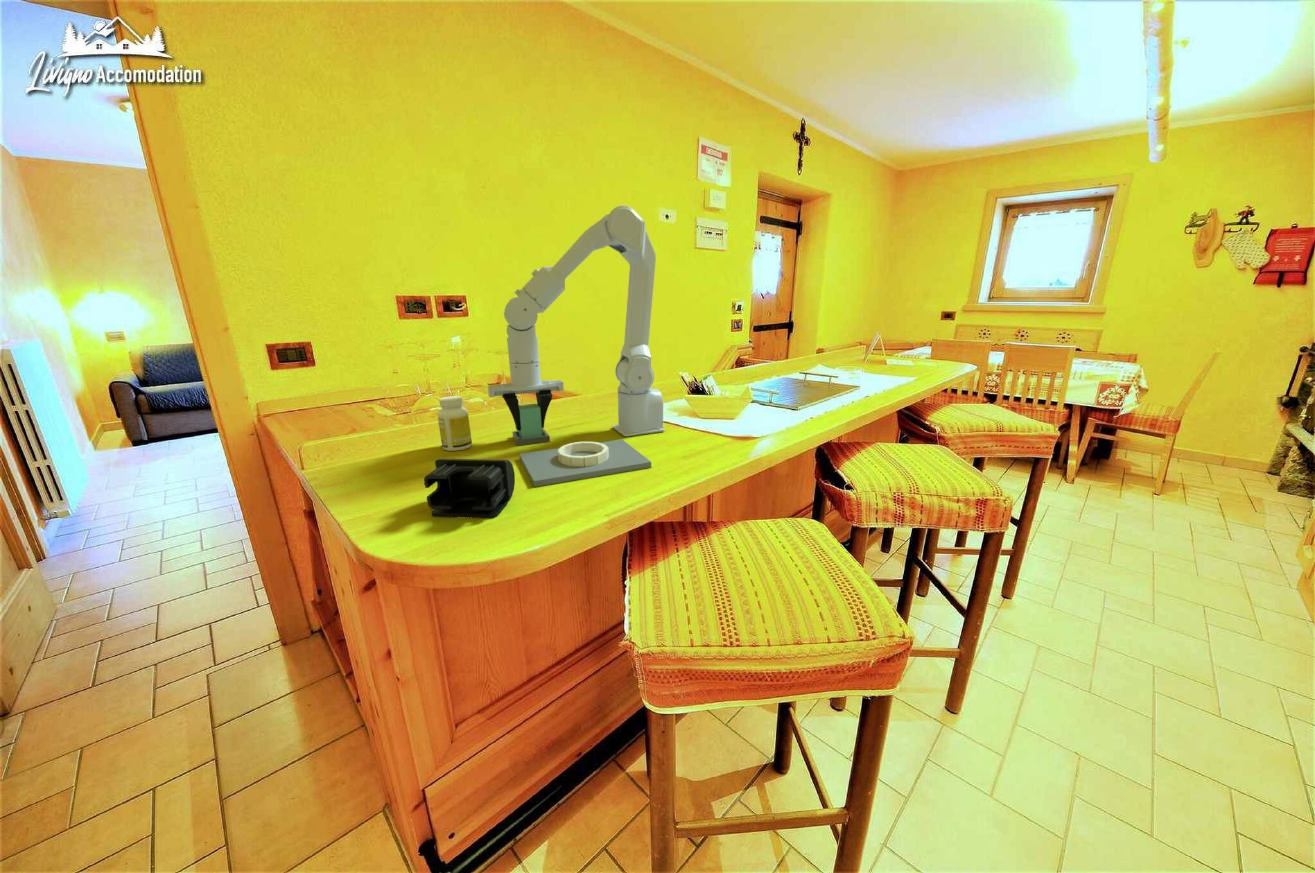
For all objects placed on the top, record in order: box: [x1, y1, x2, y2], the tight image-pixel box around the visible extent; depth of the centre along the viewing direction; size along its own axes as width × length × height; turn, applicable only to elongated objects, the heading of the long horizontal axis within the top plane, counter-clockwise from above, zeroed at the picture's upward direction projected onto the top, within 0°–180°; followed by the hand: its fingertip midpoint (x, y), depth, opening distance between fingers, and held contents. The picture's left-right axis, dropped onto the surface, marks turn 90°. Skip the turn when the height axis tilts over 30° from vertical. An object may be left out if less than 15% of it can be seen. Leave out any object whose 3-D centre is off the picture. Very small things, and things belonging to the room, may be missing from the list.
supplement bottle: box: [437, 395, 473, 452], centre depth 88 cm, size 5×5×10 cm
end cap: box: [423, 458, 516, 519], centre depth 63 cm, size 10×7×7 cm
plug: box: [518, 403, 543, 439], centre depth 93 cm, size 4×4×7 cm
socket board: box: [519, 439, 652, 488], centre depth 80 cm, size 20×14×3 cm
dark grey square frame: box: [511, 428, 551, 447], centre depth 94 cm, size 6×6×1 cm
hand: (530, 428), depth 93 cm, fingers closed on plug, 4 cm apart
